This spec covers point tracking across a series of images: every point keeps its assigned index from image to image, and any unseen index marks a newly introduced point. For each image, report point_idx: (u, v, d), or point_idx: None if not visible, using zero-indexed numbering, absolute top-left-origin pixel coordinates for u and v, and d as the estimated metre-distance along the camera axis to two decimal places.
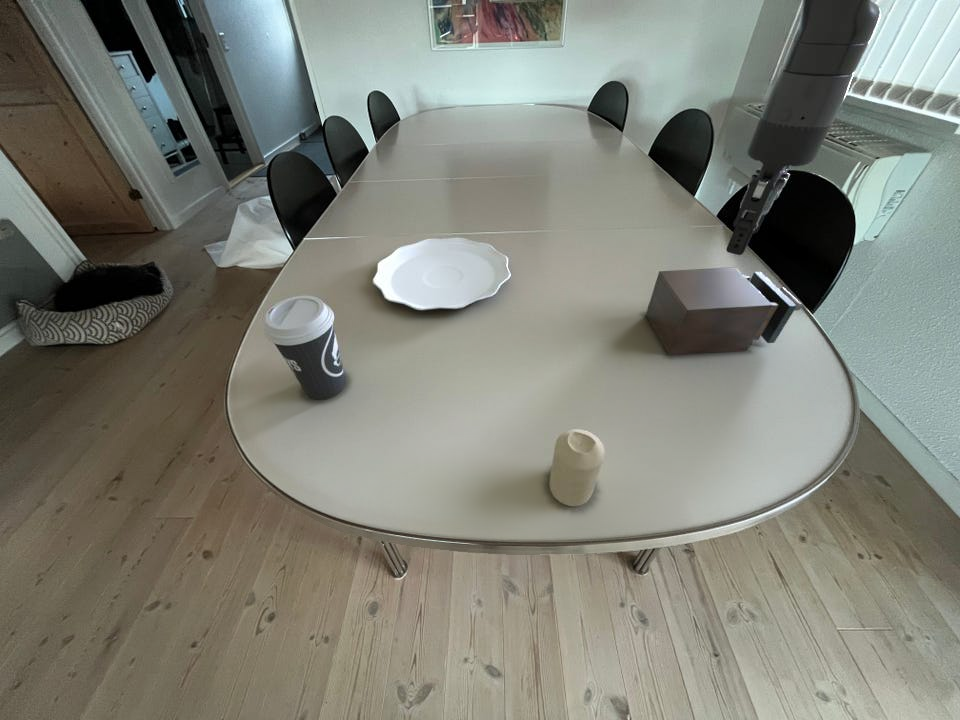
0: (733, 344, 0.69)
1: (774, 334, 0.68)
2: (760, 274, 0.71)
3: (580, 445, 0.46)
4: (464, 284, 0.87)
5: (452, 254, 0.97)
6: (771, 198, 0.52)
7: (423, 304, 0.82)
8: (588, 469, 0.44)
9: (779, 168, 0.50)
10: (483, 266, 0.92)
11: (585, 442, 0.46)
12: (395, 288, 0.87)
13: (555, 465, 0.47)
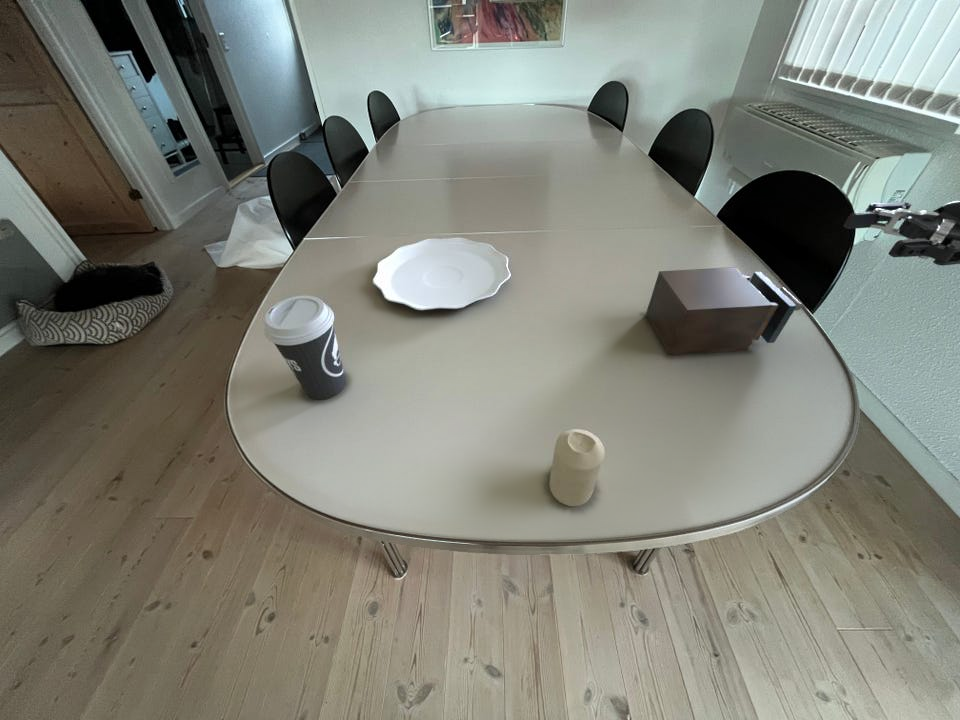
0: (733, 344, 0.69)
1: (774, 334, 0.68)
2: (760, 274, 0.71)
3: (579, 445, 0.46)
4: (464, 284, 0.87)
5: (452, 254, 0.97)
6: None
7: (423, 304, 0.82)
8: (588, 469, 0.44)
9: None
10: (483, 266, 0.92)
11: (585, 442, 0.46)
12: (395, 288, 0.87)
13: (555, 465, 0.47)
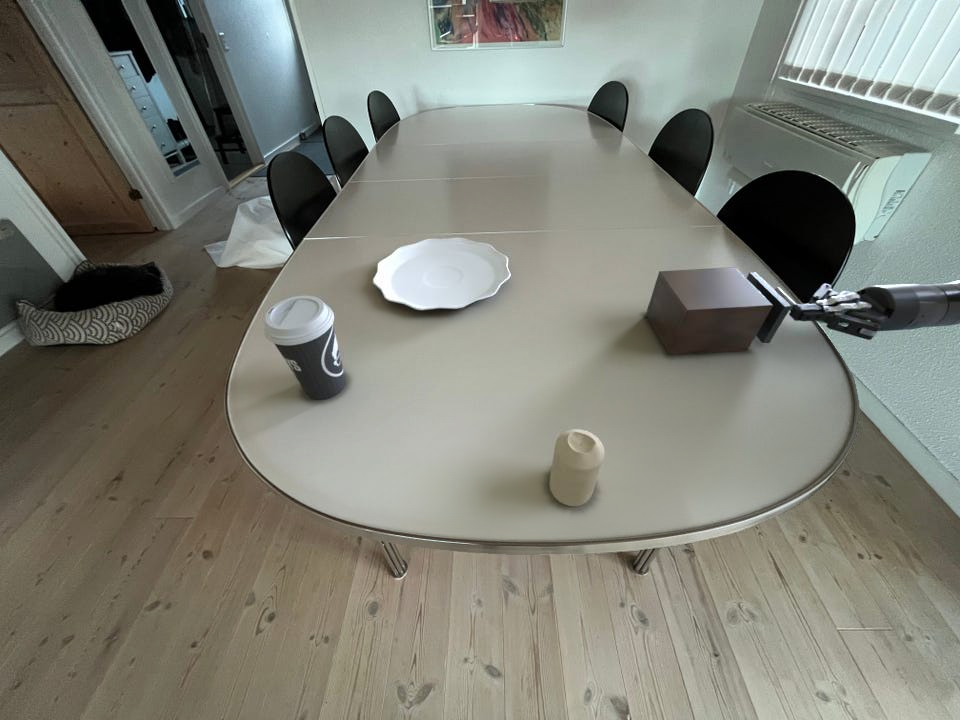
0: (733, 344, 0.69)
1: (769, 334, 0.68)
2: (755, 274, 0.71)
3: (579, 445, 0.46)
4: (464, 284, 0.87)
5: (452, 254, 0.97)
6: None
7: (423, 304, 0.82)
8: (588, 469, 0.44)
9: (855, 292, 0.69)
10: (483, 266, 0.92)
11: (585, 442, 0.46)
12: (395, 288, 0.87)
13: (555, 465, 0.47)
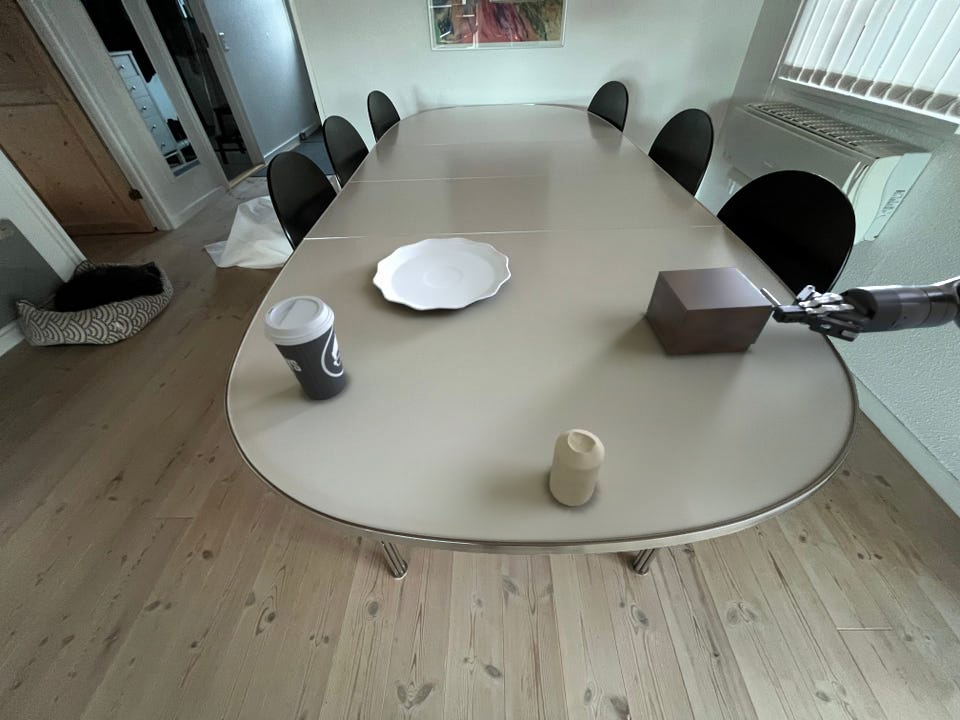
0: (733, 344, 0.69)
1: None
2: None
3: (579, 445, 0.46)
4: (464, 284, 0.87)
5: (452, 254, 0.97)
6: None
7: (423, 304, 0.82)
8: (588, 469, 0.44)
9: (838, 294, 0.69)
10: (483, 266, 0.92)
11: (585, 442, 0.46)
12: (395, 288, 0.87)
13: (555, 465, 0.47)
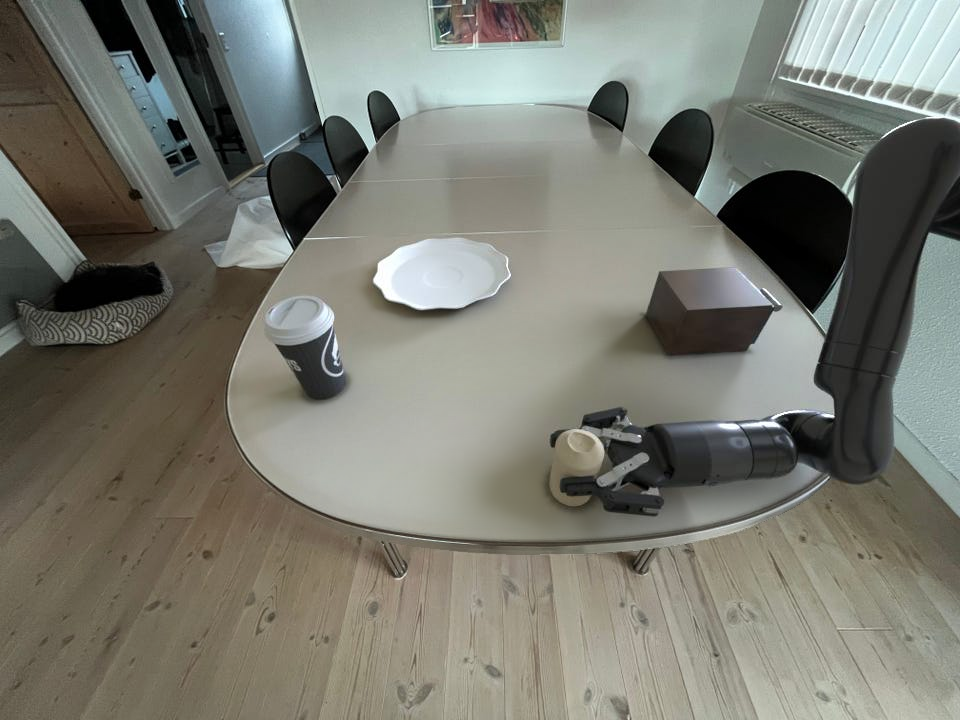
0: (733, 344, 0.69)
1: None
2: None
3: (579, 445, 0.46)
4: (464, 284, 0.87)
5: (452, 254, 0.97)
6: None
7: (423, 304, 0.82)
8: (588, 469, 0.44)
9: (646, 427, 0.50)
10: (483, 266, 0.92)
11: (585, 442, 0.46)
12: (395, 288, 0.87)
13: (555, 465, 0.47)
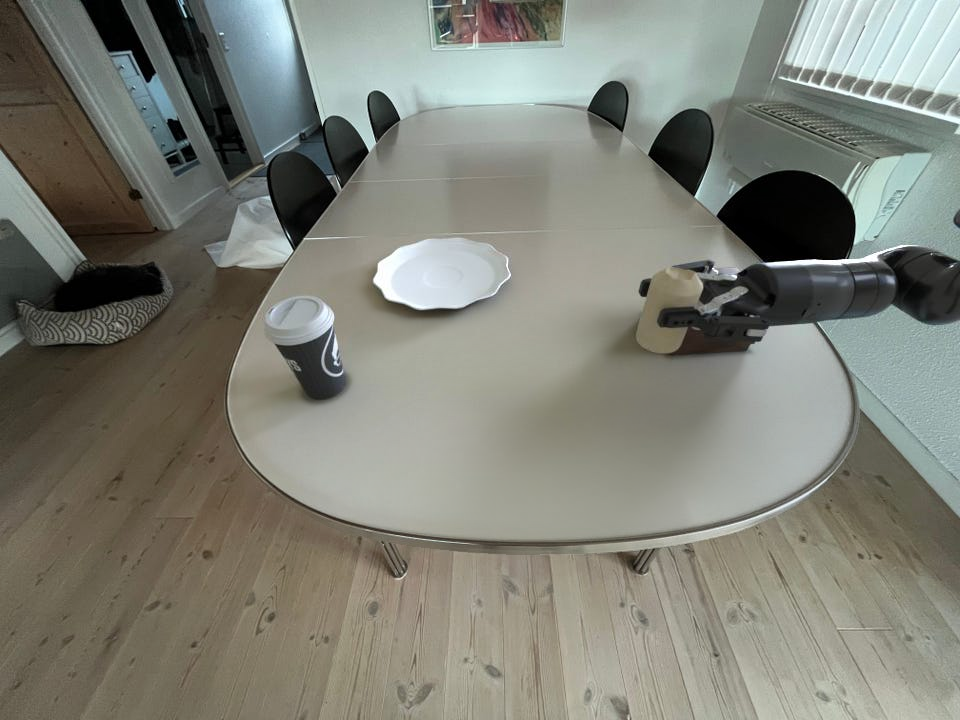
0: (733, 344, 0.69)
1: None
2: None
3: (678, 278, 0.46)
4: (464, 284, 0.87)
5: (452, 254, 0.97)
6: None
7: (423, 304, 0.82)
8: (690, 296, 0.44)
9: (736, 274, 0.50)
10: (483, 266, 0.92)
11: (683, 276, 0.46)
12: (395, 288, 0.87)
13: (650, 303, 0.47)
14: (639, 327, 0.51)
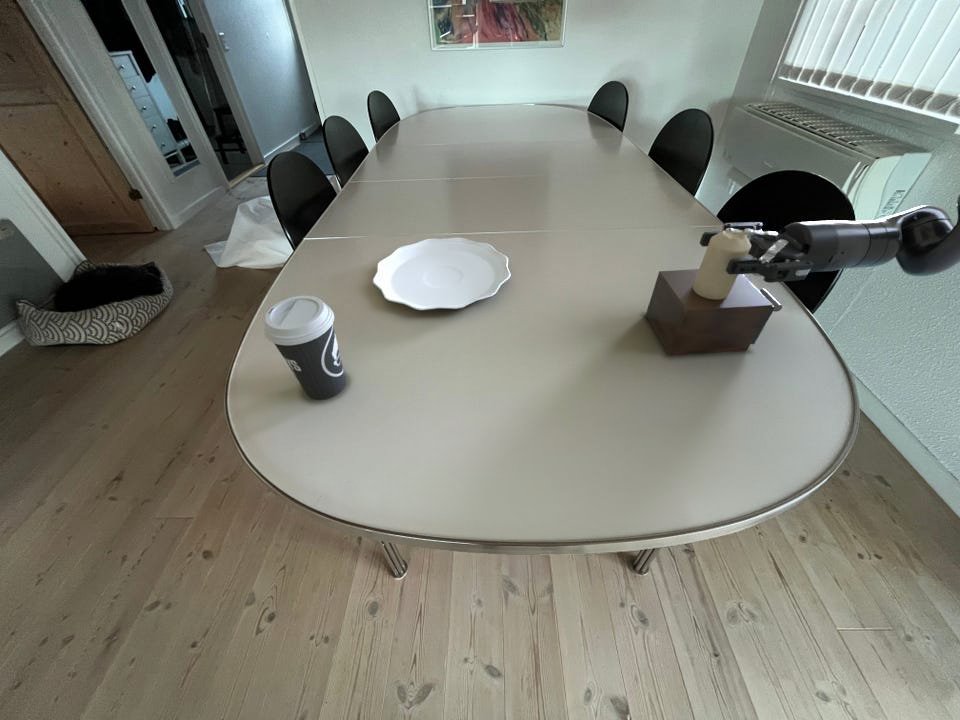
0: (733, 344, 0.69)
1: None
2: None
3: (731, 238, 0.60)
4: (464, 284, 0.87)
5: (452, 254, 0.97)
6: None
7: (423, 304, 0.82)
8: (742, 251, 0.59)
9: (776, 232, 0.64)
10: (483, 266, 0.92)
11: (735, 237, 0.61)
12: (395, 288, 0.87)
13: (709, 259, 0.62)
14: (697, 279, 0.65)
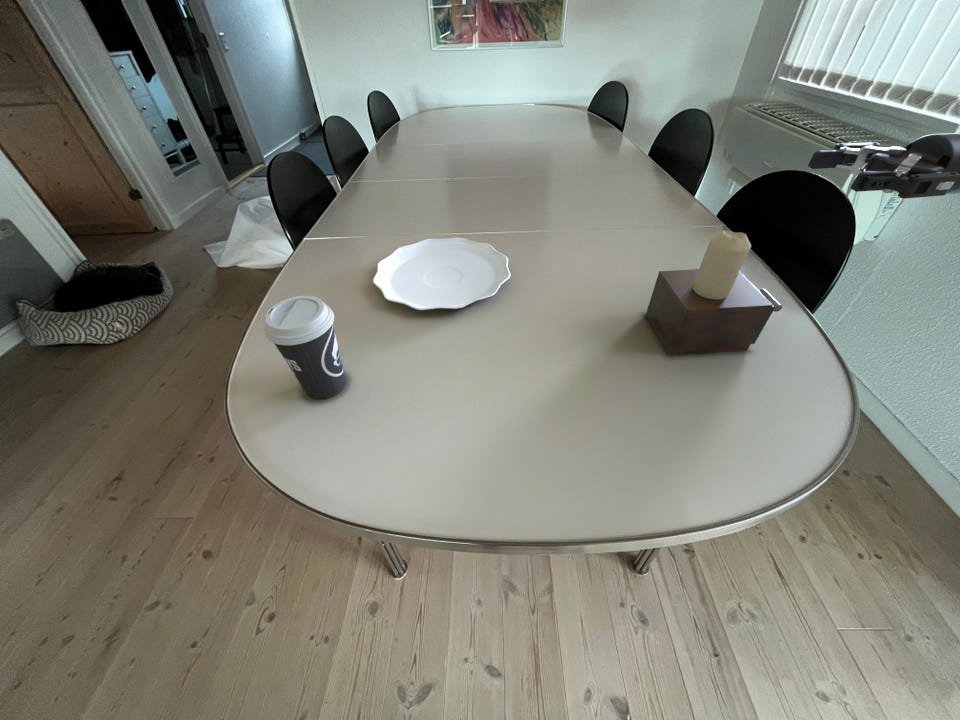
0: (733, 344, 0.69)
1: None
2: None
3: (731, 238, 0.60)
4: (464, 284, 0.87)
5: (452, 254, 0.97)
6: None
7: (423, 304, 0.82)
8: (741, 251, 0.59)
9: None
10: (483, 266, 0.92)
11: (735, 237, 0.61)
12: (395, 288, 0.87)
13: (709, 259, 0.62)
14: (696, 279, 0.65)
